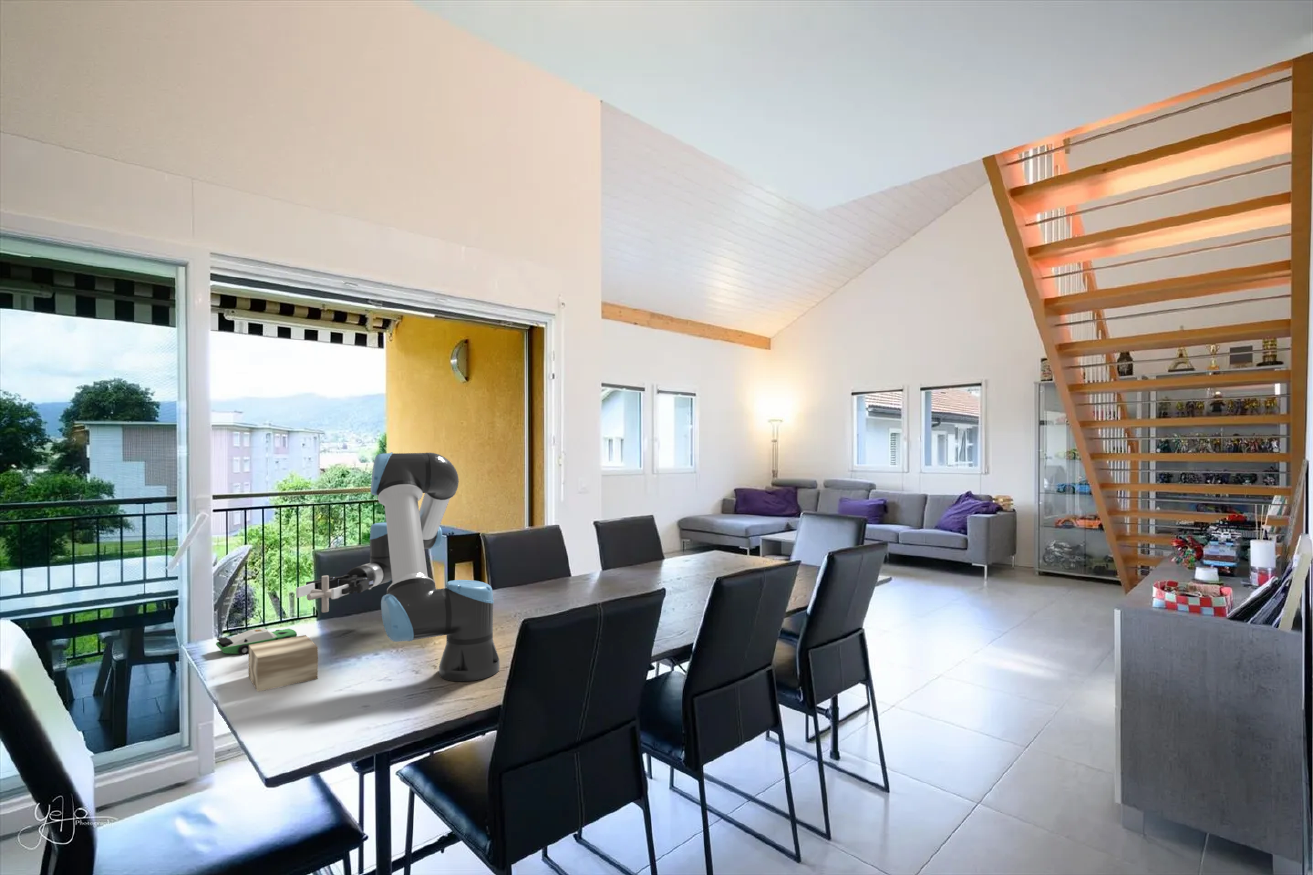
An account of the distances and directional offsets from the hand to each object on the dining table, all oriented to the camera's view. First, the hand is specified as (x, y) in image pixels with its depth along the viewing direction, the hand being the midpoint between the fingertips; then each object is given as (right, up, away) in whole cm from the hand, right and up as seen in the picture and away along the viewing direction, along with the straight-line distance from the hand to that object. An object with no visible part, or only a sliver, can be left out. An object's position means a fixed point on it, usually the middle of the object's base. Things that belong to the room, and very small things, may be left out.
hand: (314, 593), depth 178 cm
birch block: (0, -18, -15) cm, 23 cm away
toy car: (-21, -18, +9) cm, 29 cm away
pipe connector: (+1, -6, +4) cm, 8 cm away
